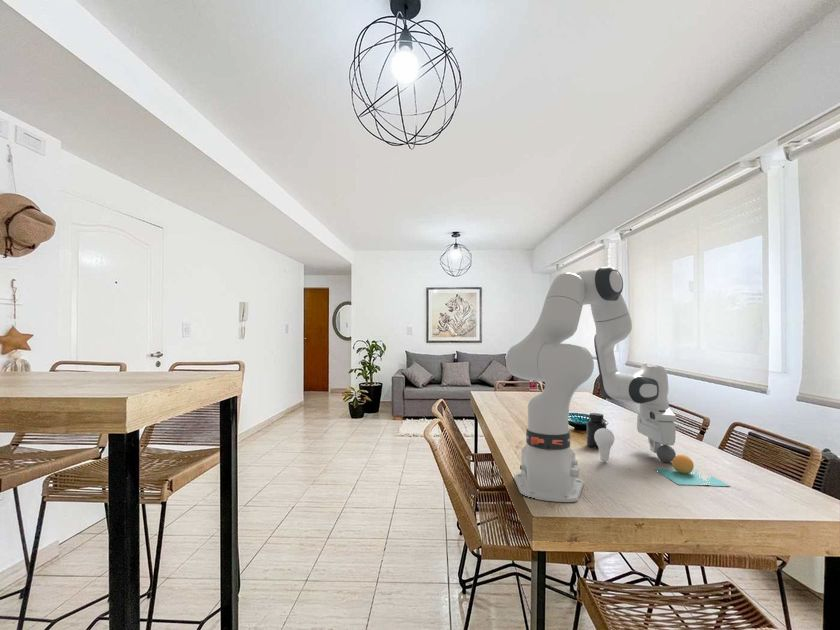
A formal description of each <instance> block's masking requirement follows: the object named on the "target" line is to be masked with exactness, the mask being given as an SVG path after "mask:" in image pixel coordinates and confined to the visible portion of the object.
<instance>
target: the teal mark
mask: <svg viewBox="0 0 840 630" xmlns="http://www.w3.org/2000/svg"><path fill="white" fill-rule="evenodd" d="M653 470H654V471H656V472H657V471H658V472H657V473H658V474H660V473H661V474H660V475H662V476H663V475H664V476H663V477H665V476H666V477H667V478H666V477H665V478H666V479H668V478H669V479H668V480H669V481H671V480H672V481H671V482H672V483H674V482H675V483H674V484H676V485H677V484H678V486H690V485H700V484H701V485H702V484H703V483H707V482H708V483H707V485H708V484H710V485H711V486H710V487H720V486H731V485H729V484H727V483H726V482H724V481H722V480H721V479H719V478H716V477H714V476H713V475H711V478H710V477H709V478H710V479H709V478H707V481H705V480H704V481H703V479H702V478H699V474H698V473H697V470H698V469H693V471H692V474H691V472H690V473H688V474H681V473H679V472H677V471H676V470H675V469H674V468H673V469H671V468H653ZM695 470H696V471H695ZM694 471H695V473H694V474H693V472H694ZM697 474H698V475H697ZM701 475H702V474H701ZM701 475H700V477H701ZM708 479H709V481H708ZM709 482H710V483H709ZM703 485H704V484H703ZM705 485H706V484H705Z"/></svg>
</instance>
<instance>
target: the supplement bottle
mask: <svg viewBox="0 0 840 630" xmlns="http://www.w3.org/2000/svg"><path fill="white" fill-rule="evenodd" d="M588 418H589V419H588V421H587V422H586V444H587V446H588V447H589V448H592V449H598V445H597V443H596V441H595V439H594V434H595V432H596V431H597V430H598V429H601V428H606V429H607V424H606V422H605V421H604V420H605V418H604V414H603V413H599V412H597V413H596V412H591V413H589V417H588Z"/></svg>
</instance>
